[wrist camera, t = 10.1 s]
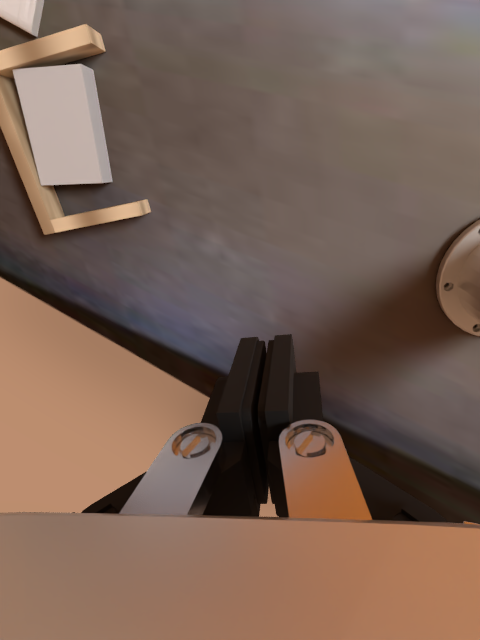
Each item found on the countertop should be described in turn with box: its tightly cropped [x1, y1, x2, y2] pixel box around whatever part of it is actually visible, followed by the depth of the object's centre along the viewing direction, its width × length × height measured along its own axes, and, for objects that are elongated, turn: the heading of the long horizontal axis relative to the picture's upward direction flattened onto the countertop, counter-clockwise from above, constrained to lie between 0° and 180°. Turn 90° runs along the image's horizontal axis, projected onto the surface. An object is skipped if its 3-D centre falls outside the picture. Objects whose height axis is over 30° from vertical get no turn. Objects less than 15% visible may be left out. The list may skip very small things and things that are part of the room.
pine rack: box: [0, 24, 151, 235], centre depth 32 cm, size 10×14×2 cm
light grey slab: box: [12, 64, 112, 185], centre depth 32 cm, size 6×9×2 cm, turn 2°
